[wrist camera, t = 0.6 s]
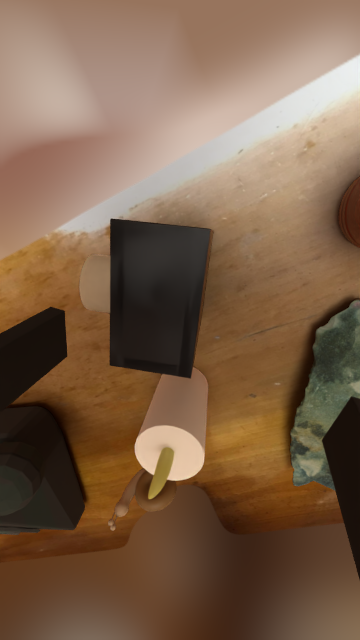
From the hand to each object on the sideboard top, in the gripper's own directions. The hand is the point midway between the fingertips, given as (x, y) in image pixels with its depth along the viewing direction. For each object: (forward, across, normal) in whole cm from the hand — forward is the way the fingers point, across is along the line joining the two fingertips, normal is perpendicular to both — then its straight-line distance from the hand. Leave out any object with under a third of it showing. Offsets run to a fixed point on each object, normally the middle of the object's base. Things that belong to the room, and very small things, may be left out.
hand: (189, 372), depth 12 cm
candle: (+15, -2, -15) cm, 22 cm away
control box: (+17, -5, -1) cm, 18 cm away
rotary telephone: (+10, -27, -36) cm, 46 cm away
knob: (+11, -7, -1) cm, 13 cm away
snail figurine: (+14, -3, -23) cm, 27 cm away
